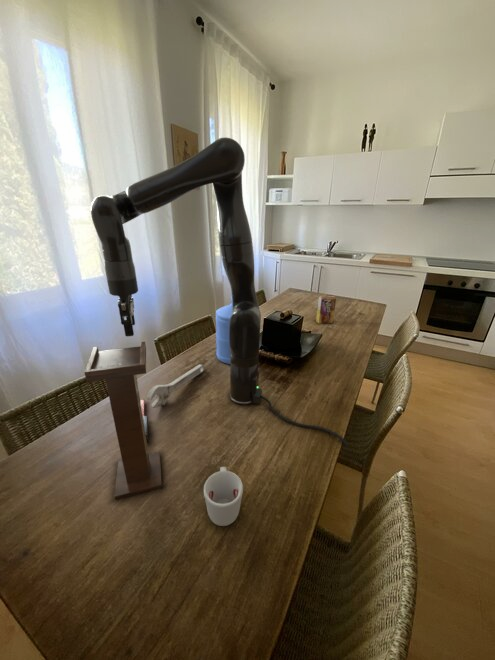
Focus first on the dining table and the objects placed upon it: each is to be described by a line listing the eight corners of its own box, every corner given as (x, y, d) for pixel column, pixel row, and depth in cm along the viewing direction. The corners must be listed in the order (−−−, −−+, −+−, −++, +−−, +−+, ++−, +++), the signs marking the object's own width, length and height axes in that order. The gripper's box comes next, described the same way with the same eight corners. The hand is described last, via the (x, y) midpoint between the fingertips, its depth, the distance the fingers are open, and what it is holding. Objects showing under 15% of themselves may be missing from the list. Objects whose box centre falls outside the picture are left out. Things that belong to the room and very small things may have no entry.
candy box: (329, 320, 166) (333, 295, 160) (332, 323, 162) (336, 297, 156) (315, 320, 165) (318, 296, 159) (318, 323, 161) (321, 298, 155)
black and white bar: (133, 405, 91) (132, 397, 90) (147, 402, 92) (146, 395, 91) (131, 446, 76) (129, 438, 74) (148, 443, 77) (146, 434, 76)
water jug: (209, 360, 119) (208, 297, 108) (226, 345, 132) (226, 287, 121) (243, 368, 114) (245, 303, 103) (257, 352, 127) (259, 292, 116)
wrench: (204, 376, 113) (151, 415, 86) (200, 375, 113) (147, 413, 87) (204, 358, 110) (151, 392, 84) (200, 357, 111) (146, 390, 84)
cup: (206, 485, 66) (205, 460, 63) (240, 483, 66) (240, 458, 63) (203, 533, 56) (202, 507, 53) (243, 531, 57) (244, 504, 53)
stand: (118, 463, 70) (93, 347, 57) (159, 454, 74) (145, 341, 60) (114, 499, 62) (84, 372, 49) (161, 487, 65) (145, 364, 52)
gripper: (134, 281, 72) (143, 338, 78) (136, 270, 84) (144, 320, 91) (102, 283, 70) (114, 341, 76) (109, 271, 82) (119, 323, 89)
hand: (130, 330), depth 84 cm, fingers open, 8 cm apart
